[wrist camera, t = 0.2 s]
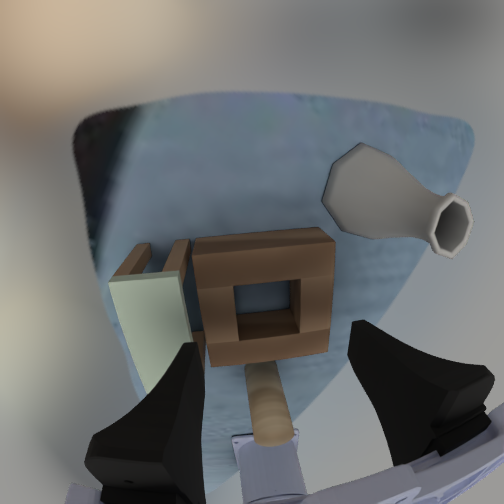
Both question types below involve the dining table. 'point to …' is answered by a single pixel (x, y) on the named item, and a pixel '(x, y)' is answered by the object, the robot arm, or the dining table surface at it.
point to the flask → (393, 203)
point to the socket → (262, 271)
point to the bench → (154, 310)
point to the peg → (268, 405)
